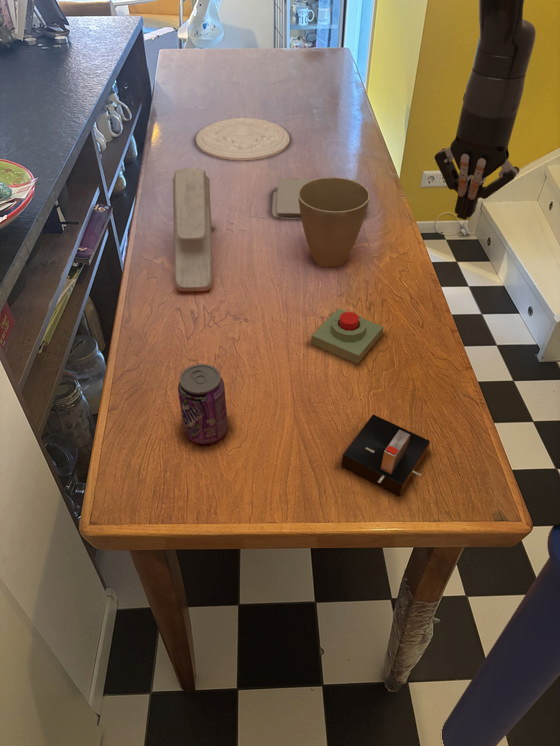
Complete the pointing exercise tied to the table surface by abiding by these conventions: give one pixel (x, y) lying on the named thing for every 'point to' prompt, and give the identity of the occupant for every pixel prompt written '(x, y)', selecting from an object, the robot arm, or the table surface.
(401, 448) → the rotary knob
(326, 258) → the plant pot
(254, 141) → the ceiling medallion
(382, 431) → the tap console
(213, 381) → the beverage can
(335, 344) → the switch
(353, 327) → the button
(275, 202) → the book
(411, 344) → the table surface
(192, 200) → the leaning slabs
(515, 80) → the robot arm
